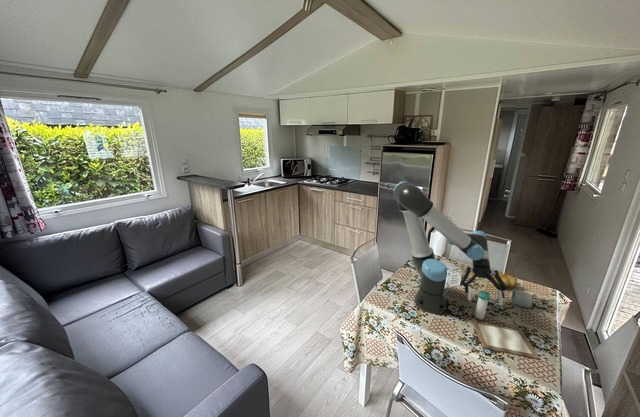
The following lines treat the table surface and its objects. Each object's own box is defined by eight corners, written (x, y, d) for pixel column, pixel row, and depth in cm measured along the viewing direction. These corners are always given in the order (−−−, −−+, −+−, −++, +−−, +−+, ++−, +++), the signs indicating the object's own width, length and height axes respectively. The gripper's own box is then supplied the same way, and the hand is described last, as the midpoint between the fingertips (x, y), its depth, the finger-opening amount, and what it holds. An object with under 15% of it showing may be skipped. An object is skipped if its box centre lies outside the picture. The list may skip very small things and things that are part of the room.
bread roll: (513, 283, 154) (516, 271, 151) (522, 292, 144) (525, 280, 142) (490, 280, 156) (492, 269, 154) (496, 289, 147) (499, 277, 145)
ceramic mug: (531, 311, 129) (535, 298, 127) (511, 306, 133) (515, 293, 131) (527, 300, 138) (531, 288, 136) (509, 296, 142) (512, 283, 139)
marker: (475, 320, 122) (480, 295, 118) (472, 314, 126) (477, 290, 123) (485, 322, 121) (491, 297, 117) (482, 316, 125) (488, 291, 121)
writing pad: (482, 348, 106) (483, 346, 106) (472, 322, 121) (472, 320, 121) (539, 359, 101) (539, 358, 101) (521, 331, 116) (521, 329, 116)
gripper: (504, 265, 132) (511, 307, 123) (452, 259, 138) (454, 299, 129) (511, 260, 126) (518, 305, 116) (456, 254, 132) (458, 297, 123)
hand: (485, 302), depth 123 cm, fingers open, 13 cm apart
